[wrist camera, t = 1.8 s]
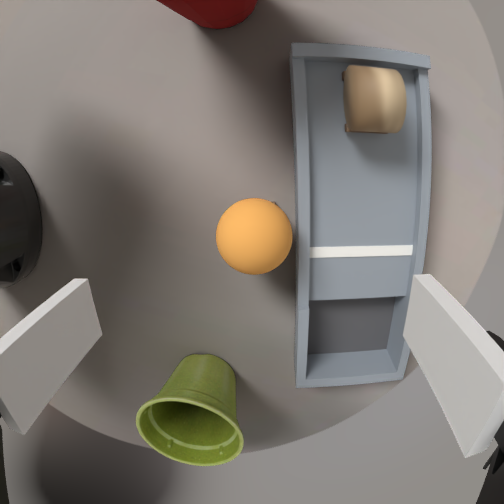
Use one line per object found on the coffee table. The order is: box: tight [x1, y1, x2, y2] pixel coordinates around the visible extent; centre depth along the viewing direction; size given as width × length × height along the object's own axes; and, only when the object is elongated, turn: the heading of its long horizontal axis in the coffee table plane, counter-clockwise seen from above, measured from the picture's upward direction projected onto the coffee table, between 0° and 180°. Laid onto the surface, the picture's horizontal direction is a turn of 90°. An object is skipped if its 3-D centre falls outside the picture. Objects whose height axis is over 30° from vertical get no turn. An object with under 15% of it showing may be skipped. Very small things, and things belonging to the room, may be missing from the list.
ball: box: [216, 198, 292, 275], centre depth 21 cm, size 5×5×5 cm
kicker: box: [342, 65, 407, 134], centre depth 18 cm, size 3×4×4 cm
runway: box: [289, 43, 432, 388], centre depth 23 cm, size 10×27×4 cm, turn 3°
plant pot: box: [136, 354, 244, 466], centre depth 27 cm, size 9×9×9 cm
